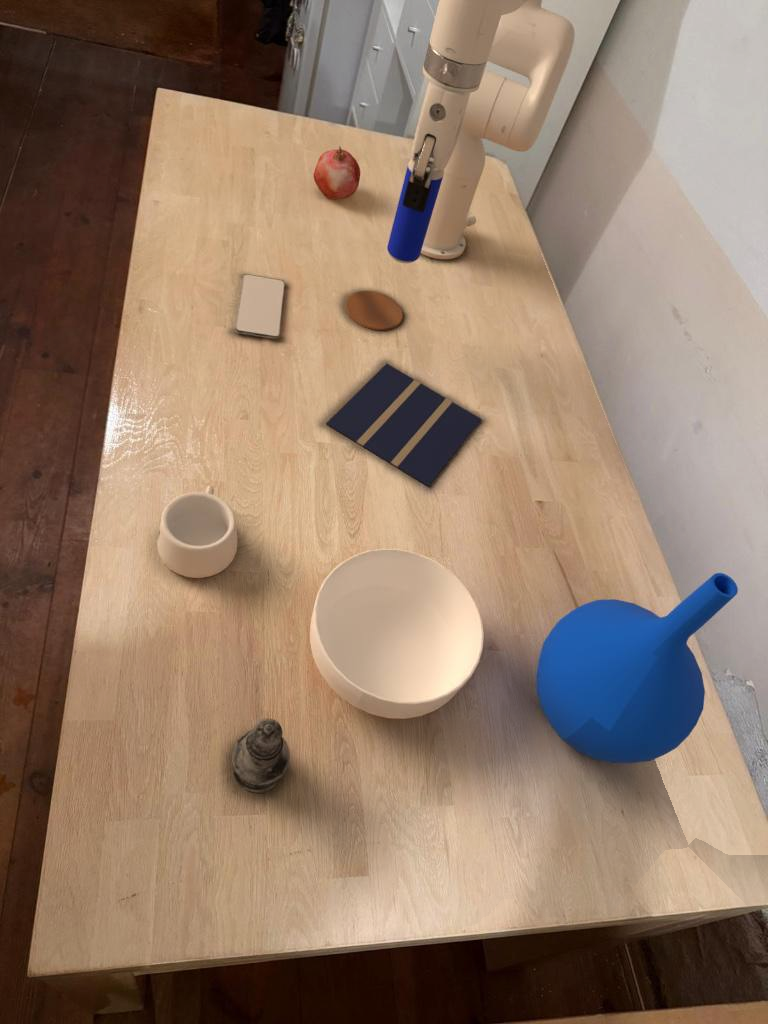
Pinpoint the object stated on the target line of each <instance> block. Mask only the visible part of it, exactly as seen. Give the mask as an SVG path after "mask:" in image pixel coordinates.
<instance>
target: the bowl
mask: <svg viewBox="0 0 768 1024" xmlns="http://www.w3.org/2000/svg"><path fill="white" fill-rule="evenodd" d="M309 626H310V627H309V644H310V648H311V649H310V650H311V653H312V657H313V660H314V662H315V665H316V667H317V670H318V672H319V674H320V675H321V676H322V678H323V680H324V681H325V682H326V683H327V685H328V686H329V687H330V688H331V689H332V691H334V692H335V693H336V694H337V695H338V696H339V697H340V698H341V699H342V700H344V701H345V702H347V703H348V704H350V705H351V706H352V707H354V708H356V709H358V710H361V711H363V712H365V713H368V714H370V715H373V716H377V717H381V718H386V719H402V720H403V719H404V720H405V719H411V718H412V719H413V718H417V717H422V716H425V715H427V714H430V713H432V712H435V711H437V710H438V709H440V708H441V707H443V706H444V705H445V704H448V702H450V701H451V699H453V697H455V696H456V695H457V694H458V692H459V691H460V690H461V689H462V688H463V687H465V685H466V683H468V681H469V680H470V679H471V677H472V676H473V674H474V672H475V671H476V668H477V667H478V666H479V663H480V660H481V657H482V654H483V651H484V635H485V633H484V627H483V620H482V616H481V614H480V611H479V608H478V605H477V603H476V601H475V600H474V597H473V596H472V594H471V593H470V591H469V590H468V587H466V586H465V585H464V583H463V582H462V581H461V580H460V578H459V577H457V575H455V574H454V573H453V572H451V570H450V569H448V567H446V566H445V565H443V564H441V563H439V562H438V561H436V560H434V559H432V558H430V557H428V556H425V555H423V554H421V553H419V552H414V551H410V550H407V549H402V548H387V547H386V548H376V549H375V548H374V549H369V550H366V551H363V552H359V553H356V554H354V555H351V556H350V557H348V558H346V559H344V560H343V561H341V562H340V563H339V564H338V565H336V566H335V567H334V568H333V569H332V570H331V571H330V572H329V574H328V575H327V576H326V577H325V578H324V580H323V581H322V583H321V586H320V587H319V589H318V591H317V594H316V598H315V601H314V605H313V610H312V614H311V618H310V625H309Z"/></svg>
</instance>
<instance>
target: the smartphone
mask: <svg viewBox="0 0 768 1024" xmlns="http://www.w3.org/2000/svg"><path fill="white" fill-rule="evenodd" d="M285 284H286V282H285V281H284V280H282V279H278V278H272V277H267V276H261V275H255V274H249V273H245V274H243V277H242V283H241V289H240V296H239V303H238V309H237V316H236V322H235V327H234V331H235V332H236V333H237V334H242V335H248V336H254V337H261V338H267V339H272V340H277V339H280V332H281V321H282V314H283V313H282V312H283V303H284V296H285V295H284V294H285Z"/></svg>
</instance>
